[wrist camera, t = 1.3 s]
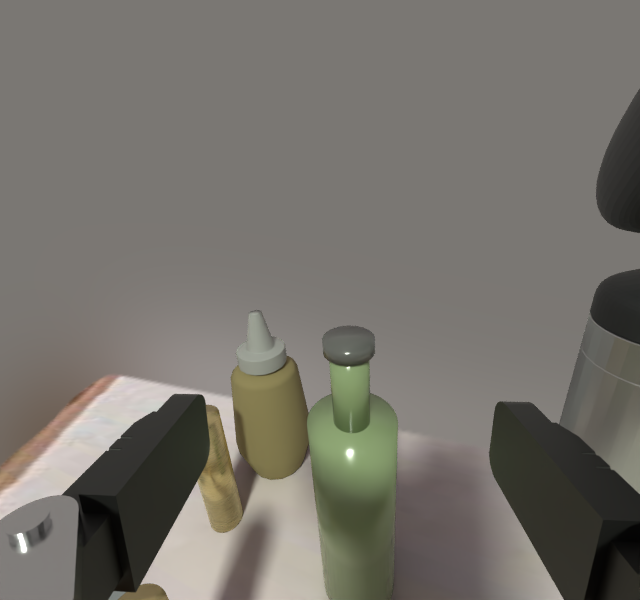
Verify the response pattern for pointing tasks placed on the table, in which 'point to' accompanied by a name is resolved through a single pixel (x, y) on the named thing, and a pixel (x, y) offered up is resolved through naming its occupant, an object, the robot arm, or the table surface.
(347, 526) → the olive bottle
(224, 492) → the brass rod
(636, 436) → the robot arm
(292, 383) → the squeeze bottle
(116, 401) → the table surface
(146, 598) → the brass rod
